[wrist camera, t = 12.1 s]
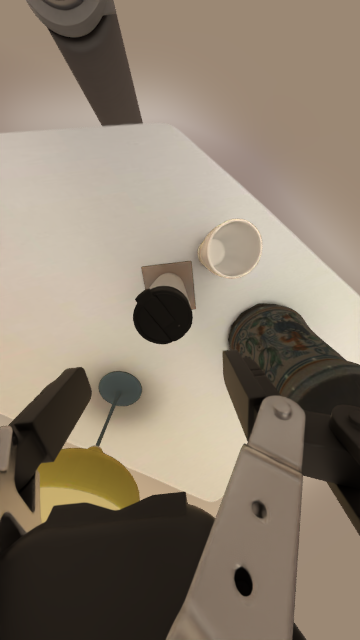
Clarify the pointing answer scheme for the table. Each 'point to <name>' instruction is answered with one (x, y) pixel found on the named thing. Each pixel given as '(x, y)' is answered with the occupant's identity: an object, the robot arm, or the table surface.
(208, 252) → the drinking glass
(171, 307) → the travel mug
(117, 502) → the cocktail glass
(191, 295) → the coaster
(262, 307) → the beer stein
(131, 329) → the table surface
